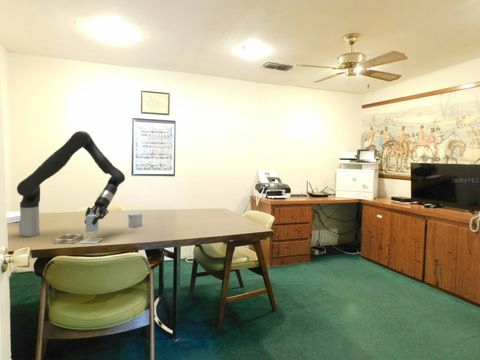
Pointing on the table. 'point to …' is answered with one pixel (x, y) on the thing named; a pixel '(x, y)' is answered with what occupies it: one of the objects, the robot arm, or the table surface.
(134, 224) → the medicine box
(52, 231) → the table surface
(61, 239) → the well board
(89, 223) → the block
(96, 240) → the mat
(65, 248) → the table surface
